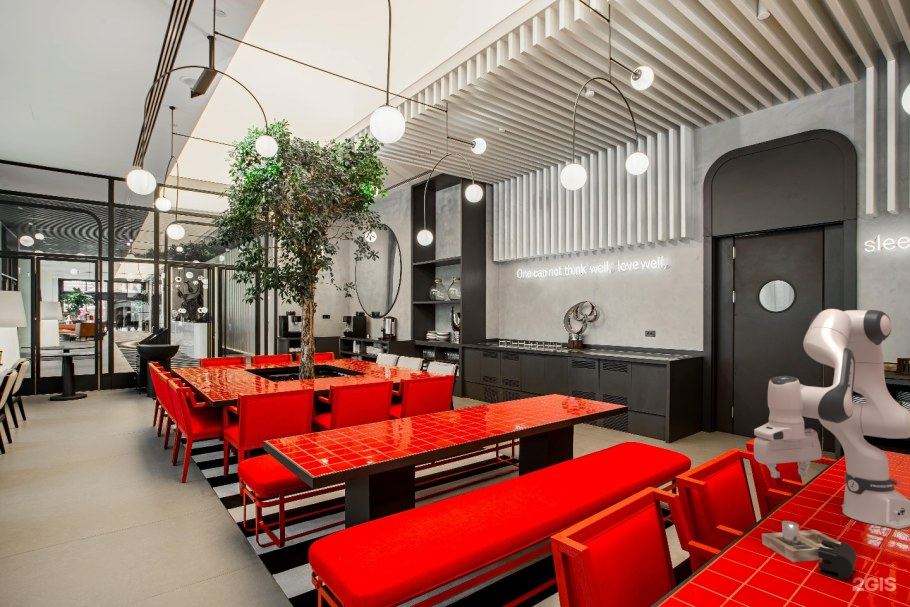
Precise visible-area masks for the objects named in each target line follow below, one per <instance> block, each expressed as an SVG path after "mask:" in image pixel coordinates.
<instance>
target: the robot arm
mask: <svg viewBox="0 0 910 607" xmlns="http://www.w3.org/2000/svg"><path fill="white" fill-rule="evenodd" d="M891 333H892V321H891V319H890V317H889V315H888V314H886V313H885V312H884V311H882V310H877V309H868V310H865V309H860V310H859V309H857V310H856V309H852V310H851V309H850V310H844V311H843V310H841V309H837V308H827V309H825V310H822V311H820V312H819V313H818V314H815V315H814V316H813V317H812V318H811V320H810V323H809V327H808V330H807V331H806V333H805V335H804V339H803V343H802V344H803V345H802V346H803V349H804V351H805V353H806V354H807V355H808V356H809V357H810V358H811V359H813V360H814V361H815V362H817V363H820V364H822V365H826V366H829V367H831V368H833V369H834V375H833V381H832V385H831V386H828V387H820V386H810V385H809V386H808V385H806V384H805V385H804V384H801V383H800V381H799V378H797V377H795V376H793V375H792V376H789V375H780V376H773V377H772V378H770V380H769V381H768V386H767V387H768V388H767V407H768V408H769V416H768V422H766V423H765V424H762V425H760V426H758V427H756V428H754V429H753V434H754V436H756V437H755V438H754V442H753V457H754V459H755V460H756V462H758V463H760V464H762V465H766V467H767V468H768V469H769V471H770V476H771V478H774V479H779V478H781V476H780V475H781V473H780V471H778V470H777V469H776V467H777V464H788V463H798V462H800V463H801V465H800V467H798V468H797V471H798V473H797V474H798V475H799V476H802V477H803V476H808V469H809V468H810V465H811V461H818V460H821V458H822V456H823V453H822V448H821V442H820V439H819V435H818V432H817V431H816V430H814V429H813V428H805V420H804V418H803V417H805V418H810V419H817V420H818V422H820V424H821V425H822V426H823V427H824V428H825V429H826V430H828V431H830V433H831V434H833V435H834V436H835V438H836V439H837V440H838V442H839V443H840V445H841V447H842V449H843V452H844V457H845V467H846V468H845V469H846V471H845V472H844V480H845V484H846V485H845V487H844V495H843V496H844V497H843V498H844V499H843V503H842V504H841V508H842V512H841V513H842V514H843V515H845V516H847V517H848V518H851V519H853V520H856V521H859V522H862V523H866V524H871V525H876V526H882V527H888V528H892V529H897V530H899V529H900V530H901V529H904V528H909V527H910V499H909V498H907V497H906V496H904V495H903V494H901V493H900V492H898V491H897V490H896V489H895V486H896V487H900V486H901V484H902V481H901V480H900V479H896V478H893V477H892V478H890V470H889V469H890V468H889V458H888V455H887V454H886V453H885V452H884V451H883V450H881V449H880V448H878V447H876V446H874V445H872V444H871V443H869V441H867V440H866V439H865V438H864V437H865V436H869V437H875V438H885V439H909V438H910V410H908V409H907V408H906V407H903V405H901V404H899V403H898V402H897V401H896V400H895V399H894V397H892V395H891V393H890V392H889V390H888V387H887V384H886V379H885V378H886V375H885V365H884V361H885V360H884V354H883V348H882V345H881V344H882V343H883V342H884V341H885V340H887V339H888V338H889V336H890V335H891ZM854 392H855V393H857V394H860V395H861V396H863V398H864V399H865V402H855V401H854V397H853V396H854Z"/></svg>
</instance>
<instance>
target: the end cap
mask: <svg viewBox="0 0 910 607" xmlns="http://www.w3.org/2000/svg"><path fill="white" fill-rule="evenodd" d="M821 544H822V545H823V546H824V547H828V548H832V549H827V548H824V547H819V550H818V557H820V558H823V559H822V562H821V561H818V569H819V574H820V575H823V576H827V577H831V578H833V579H837V580H844V579H847V578H850V577H851V576H852V575H853V573H854V571H855V570H854V569H855V566H856V563H857V558H858V556H857V552H856V551H855V549H854V548H853V547H852V546H851V545H850V543H846V542H845V541H841V544H837V543H833V542H829V541H825V540H823V541H822V543H821Z"/></svg>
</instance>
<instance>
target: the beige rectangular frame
mask: <svg viewBox="0 0 910 607" xmlns="http://www.w3.org/2000/svg"><path fill="white" fill-rule="evenodd" d="M761 538H762V539H761V540H762V545H764V546H765V547H767V548H768V549H770V550H772V551H774V552H775V553H777V554H778V555H781V556H782V557H784V558H786V559H788V560H789V561H791V562H792V563H797V562H810V561H821V560H822V559H823V558H820V557H818V550H819V547H824V546H823V545H822V544H821V543H822V541H823V540H825V541H829V542H833V543H837V544H841V542H840V541H838V540H836V539H834V538H832V537H830V536H828V535H826V534H824V533H822V532H820V531H818V530H816V529H808V530H799V544H800V545H798V546H789V545H787V544H785V543H783V534H782V531H781V532H780V531H779V532H770V533H769V532H768V533H761ZM824 548H827V549H832V548H828V547H824Z"/></svg>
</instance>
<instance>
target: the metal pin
mask: <svg viewBox="0 0 910 607" xmlns="http://www.w3.org/2000/svg"><path fill="white" fill-rule="evenodd" d="M781 527H782V528H781V530H782V531H781V532H782V534H783V543H785V544H787V545H789V546H798V545H800V544H799V531H800V525H799V523H797V522H794V521H790V520H783V521H781Z"/></svg>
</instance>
